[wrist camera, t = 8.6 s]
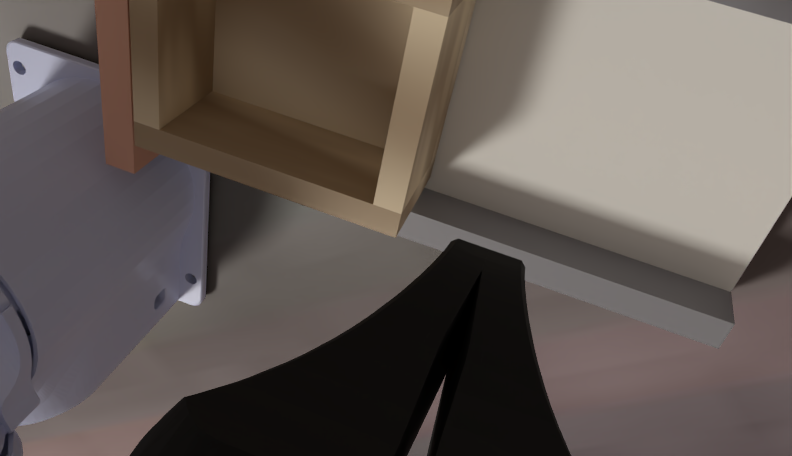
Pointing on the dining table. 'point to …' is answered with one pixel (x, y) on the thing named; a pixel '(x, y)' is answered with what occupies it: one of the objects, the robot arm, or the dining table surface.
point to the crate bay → (592, 146)
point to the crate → (301, 95)
